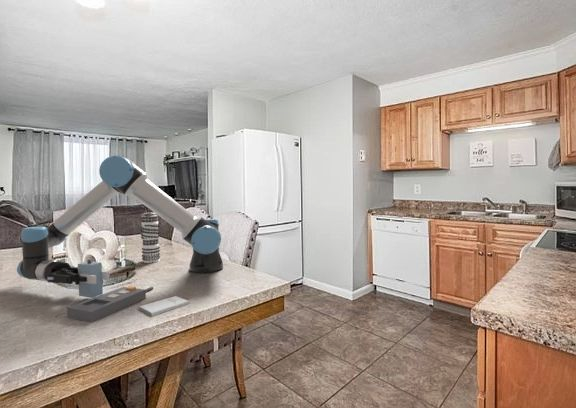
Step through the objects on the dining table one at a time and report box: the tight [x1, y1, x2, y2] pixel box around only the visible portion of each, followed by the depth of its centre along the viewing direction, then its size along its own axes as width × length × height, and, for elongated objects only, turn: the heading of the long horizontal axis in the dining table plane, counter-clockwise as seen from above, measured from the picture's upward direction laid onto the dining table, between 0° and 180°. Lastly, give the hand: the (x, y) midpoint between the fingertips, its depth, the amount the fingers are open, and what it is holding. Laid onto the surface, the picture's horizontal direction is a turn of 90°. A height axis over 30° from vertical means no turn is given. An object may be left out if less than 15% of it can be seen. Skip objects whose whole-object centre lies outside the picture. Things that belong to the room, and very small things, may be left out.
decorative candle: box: [139, 211, 161, 264], centre depth 161 cm, size 9×9×25 cm
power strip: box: [66, 285, 154, 323], centre depth 104 cm, size 28×10×4 cm, turn 160°
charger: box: [77, 258, 104, 299], centre depth 107 cm, size 4×6×12 cm, turn 70°
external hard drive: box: [138, 295, 189, 317], centre depth 100 cm, size 2×8×12 cm
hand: (101, 277), depth 105 cm, fingers closed on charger, 4 cm apart
